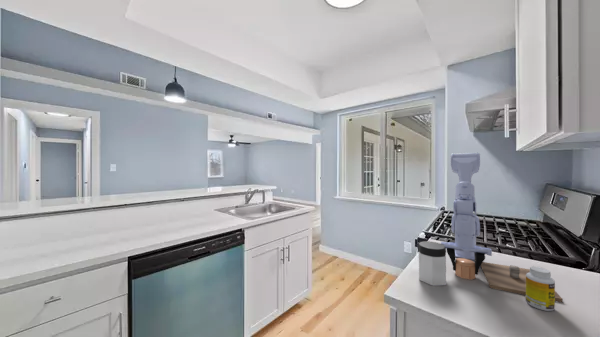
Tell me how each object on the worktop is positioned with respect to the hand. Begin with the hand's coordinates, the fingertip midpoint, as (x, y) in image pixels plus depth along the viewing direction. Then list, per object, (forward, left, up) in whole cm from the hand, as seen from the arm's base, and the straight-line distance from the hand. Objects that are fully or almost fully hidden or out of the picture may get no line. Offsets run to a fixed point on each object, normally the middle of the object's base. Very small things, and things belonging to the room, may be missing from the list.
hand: (464, 271), depth 81 cm
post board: (-4, +14, -1) cm, 15 cm away
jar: (+9, -10, -2) cm, 14 cm away
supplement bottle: (+11, +16, -2) cm, 19 cm away
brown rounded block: (0, 0, -1) cm, 1 cm away
